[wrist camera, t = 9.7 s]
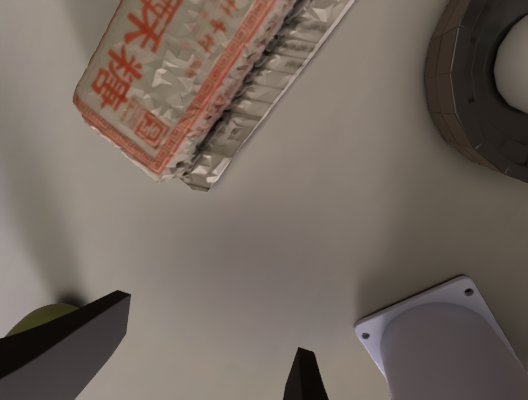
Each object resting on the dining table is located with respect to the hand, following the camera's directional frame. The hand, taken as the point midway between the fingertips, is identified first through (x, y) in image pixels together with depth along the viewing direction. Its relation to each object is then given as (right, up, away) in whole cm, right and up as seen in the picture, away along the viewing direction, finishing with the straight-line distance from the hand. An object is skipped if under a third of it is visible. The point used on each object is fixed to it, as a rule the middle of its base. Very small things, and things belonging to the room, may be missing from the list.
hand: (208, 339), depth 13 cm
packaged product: (0, +16, +5) cm, 17 cm away
